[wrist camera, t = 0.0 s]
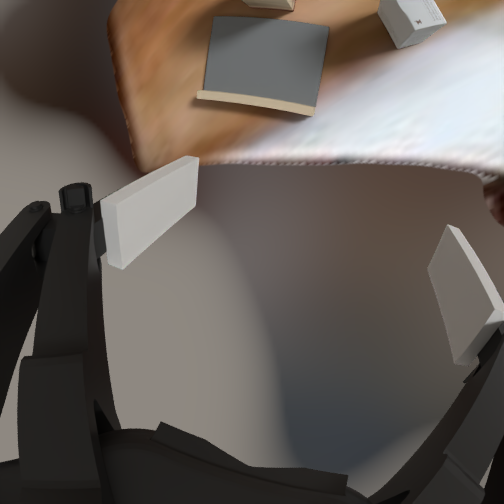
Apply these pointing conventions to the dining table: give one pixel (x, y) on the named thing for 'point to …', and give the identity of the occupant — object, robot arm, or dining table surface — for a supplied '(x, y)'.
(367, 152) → the dining table surface
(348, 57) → the dining table surface
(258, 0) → the beech block
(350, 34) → the dining table surface
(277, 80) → the slate mat
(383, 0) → the skincare box
